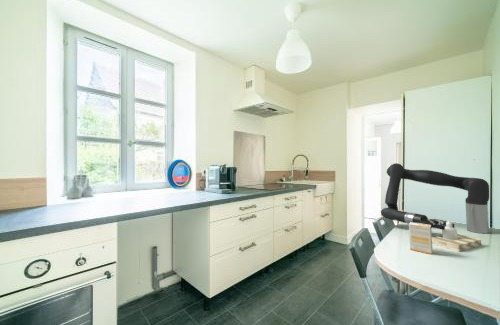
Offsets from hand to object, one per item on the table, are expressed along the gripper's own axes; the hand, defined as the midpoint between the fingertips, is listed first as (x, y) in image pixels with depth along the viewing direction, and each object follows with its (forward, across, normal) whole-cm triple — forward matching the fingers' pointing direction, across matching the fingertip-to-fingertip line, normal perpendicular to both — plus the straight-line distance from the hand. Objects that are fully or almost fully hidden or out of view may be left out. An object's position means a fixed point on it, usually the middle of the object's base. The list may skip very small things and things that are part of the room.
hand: (449, 226), depth 108 cm
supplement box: (0, -25, +9) cm, 26 cm away
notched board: (+3, 0, +8) cm, 9 cm away
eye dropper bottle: (0, 0, +9) cm, 9 cm away
